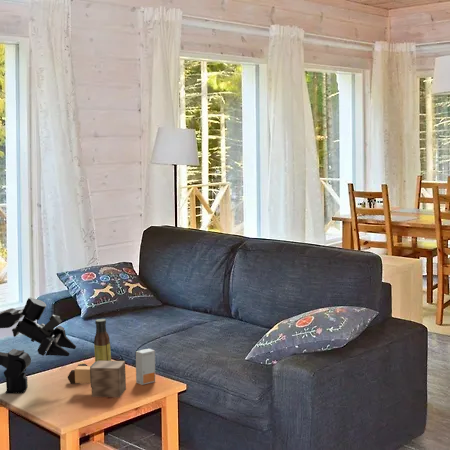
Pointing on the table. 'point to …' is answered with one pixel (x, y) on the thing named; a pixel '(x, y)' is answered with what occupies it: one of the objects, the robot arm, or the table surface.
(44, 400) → the table surface
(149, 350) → the skincare box
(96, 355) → the sauce bottle
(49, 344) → the robot arm
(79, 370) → the peg
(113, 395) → the housing
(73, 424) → the table surface
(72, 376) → the bolt
